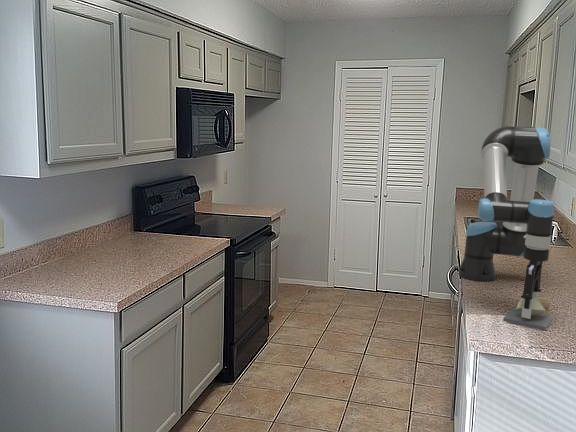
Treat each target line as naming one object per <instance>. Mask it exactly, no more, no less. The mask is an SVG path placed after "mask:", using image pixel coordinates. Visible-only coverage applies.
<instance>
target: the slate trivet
mask: <svg viewBox="0 0 576 432" xmlns="http://www.w3.org/2000/svg"><path fill="white" fill-rule="evenodd" d="M521 316H522V312H521V311H517V310H516V308H515V307H514V308H513V307H512V308H511V309H510V311H508V312H507V314H505V316H504V317H503V320H502V321H506V322H505V323H508V322H509V324H513V325H517V324H518V325H517V326H522V327H527V328H531V329H537V330H540V331H546V330H548V328H549V326H550V324H551V323H552V322H551V321H553V319H554V315H553V316H552V315H549V314H548V315H544V314H538V315H531V318H530V319H528V318H524V317H521Z"/></svg>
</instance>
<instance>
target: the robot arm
mask: <svg viewBox="0 0 576 432" xmlns="http://www.w3.org/2000/svg"><path fill="white" fill-rule="evenodd" d="M550 155H551V136H550V132H549V130H548V129H547V128H544V127H537V126H512V125H511V126H510V125H506V126H500V127H498V128H496V129H494V130H493V131H492V132H490V133H489V134H488V135H487V137H486V138H484V140H483V143H482V145H481V158H482V159H483V162H484V164H483V166H484V167H483V169H484V171H483V172H484V173H483V175H484V177H483V178H484V179H483V181H484V182H483V184H484V185H483V186H484V189H483V191H484V198H480V199H479V201H478V208H477V210H478V211H477V217H478V219H479V220H481V221H476V222H471V223H469V224H468V225H467V229H466V232H465V237H466V238H465V246H464V253H463V254H464V255H463V258H462V261H461V263H460V266H459V268H458V272H457V273H458V274H457V275H458V276H459V277H461V278H463V279H466V280H471V281H477V282H491V281H495V280H496V277H497V272H496V269H495V263H494V255H501V256H502V255H503V256H512V257H517V258H518V257H519V258H520V257H523V258H524V259H525V260H528V261H529V262H528V264H527V265H526V269H525V278H524V285H523V289H522V290H523V292H522V295H521V296H520V299H521V298H523V307H522V316H521V317H524V318H528V319H530V318H531V311H532V302H533V299H532V298H533V297H532V296H533V293H534V294H535V295H536V296H537V298H538V297H539V293H542V288H541V281H542V279H541V278H542V268H543V262H544V263H545V262H547V261H548V260H549V255H550V250H549V249H550V247H551V239H552V230H553V229H552V228H553V222H554V216H555V203H554V202H553V201H551V200H547V199H537V198H536V199H535V198H534V197H535V193H536V192H535V190H536V185H537V179H538V173H539V169H540V168H539V167H541V166H542V165H544V162H545V160H548V159H549V158H550ZM509 157H511V162H512V163H513V164H514V171H513V178H512V184H511V193H510V200H509V199H508V192H507V191H508V187H507V186H508V185H507V163H506V161H507V160H506V159H507V158H509ZM496 222H501V223H502V226H498V224H497V223H496ZM526 294H528V295H526Z"/></svg>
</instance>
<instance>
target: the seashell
mask: <svg viewBox="0 0 576 432" xmlns="http://www.w3.org/2000/svg"><path fill="white" fill-rule="evenodd" d="M526 295H528V294H526ZM532 297H533V298H532V299H533V302H532V311H531V315H538V314H542V313H544V312H545V311H546V310H545V309H544V308H543V306H542V304H541V303H540V301H539V299H538V298H537V296H536V295H535V294H534V293H533V296H532ZM522 307H523V298H521V297H520V300H519V301H518V302H517V304H516V308H515V309H516V310H517V311H521V312H522Z"/></svg>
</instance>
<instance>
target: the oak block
mask: <svg viewBox="0 0 576 432" xmlns="http://www.w3.org/2000/svg"><path fill="white" fill-rule="evenodd" d="M538 299H539V301H540V303H541V304H542V306H543V308H544V309H545V310H546V311H545V312H544V313H542V314H544V315H549V310H550V300H549V298H547V297H539V296H538Z"/></svg>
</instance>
